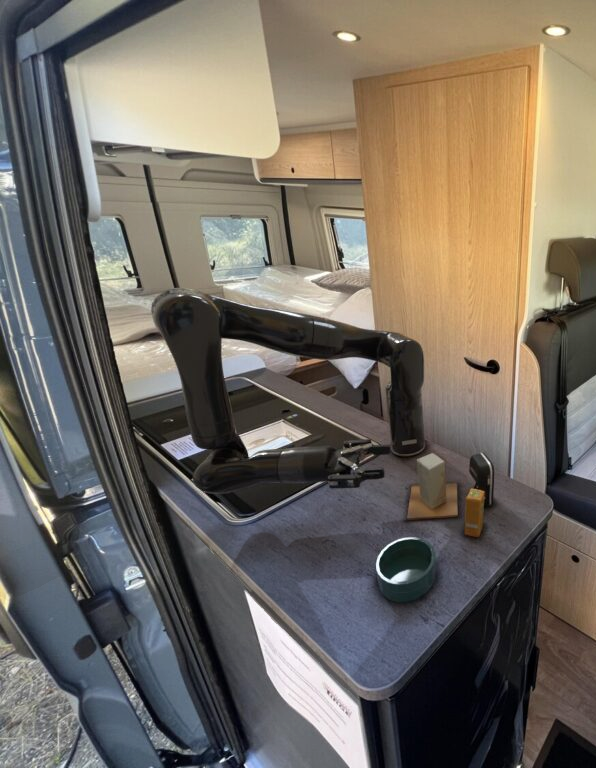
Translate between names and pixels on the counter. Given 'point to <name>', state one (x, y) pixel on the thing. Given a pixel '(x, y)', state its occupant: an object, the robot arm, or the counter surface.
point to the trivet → (442, 511)
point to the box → (432, 480)
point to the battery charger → (483, 475)
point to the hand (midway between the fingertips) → (387, 460)
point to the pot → (406, 569)
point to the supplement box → (474, 512)
